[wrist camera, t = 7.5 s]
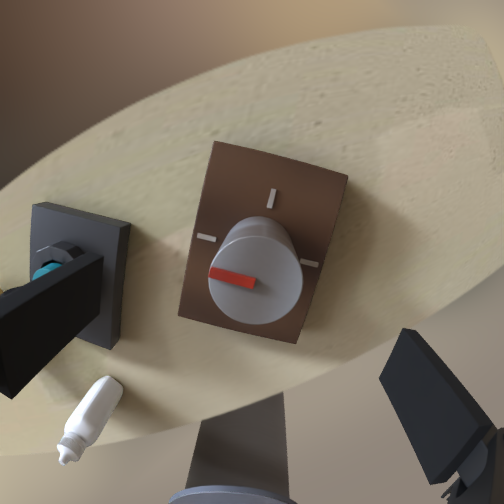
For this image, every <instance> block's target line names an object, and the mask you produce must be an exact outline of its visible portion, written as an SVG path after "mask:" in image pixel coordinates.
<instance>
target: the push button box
mask: <svg viewBox="0 0 504 504" xmlns="http://www.w3.org/2000/svg"><path fill="white" fill-rule="evenodd" d="M130 226H131V223H128V222H124V221H120V220H116V219H112V218H109V217H105V216H101V215H97V214H93V213H89V212H85V211H81V210H77V209H73V208H69V207H65V206H61V205H57V204H53V203H49V202H42V203H38V204H33V205H32V217H31V235H30V282H31V281H32V280H33V276H34V274H35V272H36V271H37V270H39V269H41V268H43V267H45V266H46V265H48V264H50V263H59V264H62V265H63V264H65V263H67V262H69V261H71V260H73V259H75V258H77V257H79V256H81V255H83V254H85V253H87V252H93V253H96V254H99V255H103V256H104V262H103V273H102V286H101V301H100V314H99V315H98V316H97V317H96V318H95V319H94V320H93V321H92V322H90V323H89V324H88V325H87V326H86V327H85V328H84V329H83V330H82V331H81V332H80V333H79V334H78V335H77V336H76V337H78V338H80V339H82V340H85V341H88V342H90V343H93V344H95V345H98V346H101V347H103V348H106V349H109V350H111V349H112V348H113V347H114V346H115V344H116V343H117V342H118V341H119V336H120V318H121V305H122V293H123V282H124V272H125V264H126V255H127V247H128V240H129V233H130Z"/></svg>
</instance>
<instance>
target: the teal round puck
mask: <svg viewBox="0 0 504 504" xmlns="http://www.w3.org/2000/svg"><path fill="white" fill-rule="evenodd" d="M61 265H62V264H59V263H50V264H48V265H46V266H45V267H43V268H41V269H39V270H37V271H36V272H35V274H34V276H33V280H35V279H36V278H38V277H40V276H42V275H44V274H46V273H48V272H50V271H52V270H53V269H55V268H57V267H59V266H61ZM33 280H32V281H33Z"/></svg>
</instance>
